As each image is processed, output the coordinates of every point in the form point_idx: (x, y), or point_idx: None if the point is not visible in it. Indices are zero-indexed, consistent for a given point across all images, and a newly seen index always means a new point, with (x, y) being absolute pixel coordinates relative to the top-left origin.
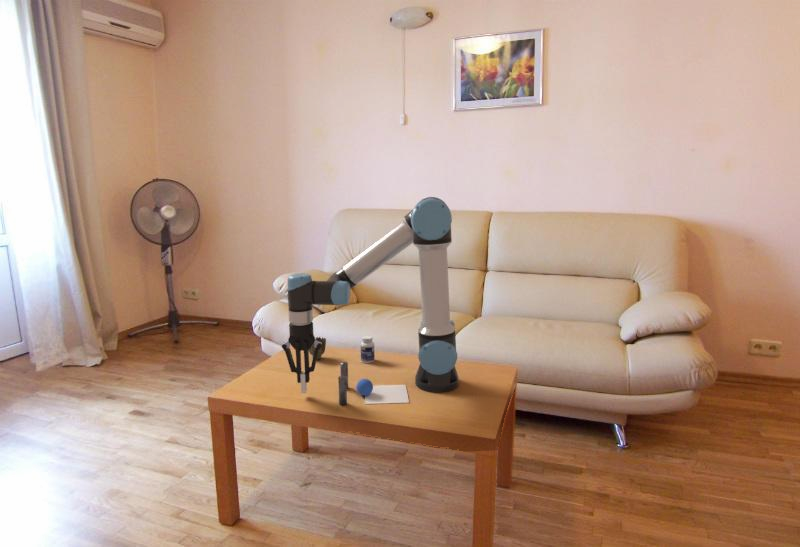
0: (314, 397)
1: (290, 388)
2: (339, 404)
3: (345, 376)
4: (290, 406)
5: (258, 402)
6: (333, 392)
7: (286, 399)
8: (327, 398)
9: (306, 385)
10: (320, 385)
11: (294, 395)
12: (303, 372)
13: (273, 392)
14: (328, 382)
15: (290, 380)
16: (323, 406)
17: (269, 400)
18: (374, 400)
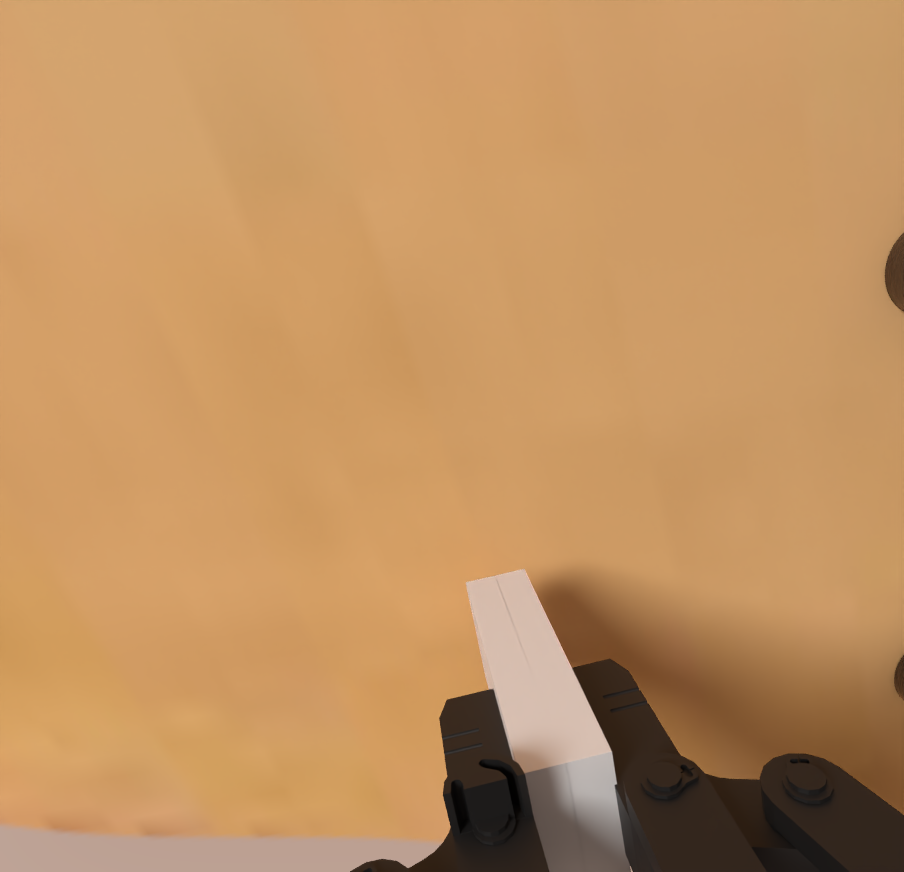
0: (612, 579)
1: (222, 376)
2: (901, 696)
3: None
4: (419, 811)
5: (18, 799)
6: (806, 417)
7: (309, 678)
8: (760, 578)
9: (539, 603)
10: (606, 221)
11: (362, 568)
12: (579, 816)
13: (49, 530)
14: (696, 96)
15: (86, 75)
16: (748, 749)
17: (120, 735)
18: None
